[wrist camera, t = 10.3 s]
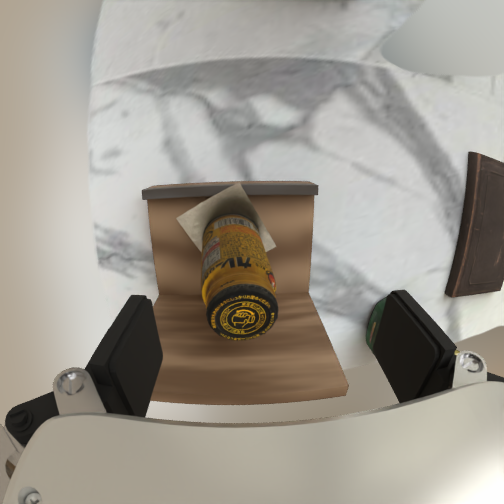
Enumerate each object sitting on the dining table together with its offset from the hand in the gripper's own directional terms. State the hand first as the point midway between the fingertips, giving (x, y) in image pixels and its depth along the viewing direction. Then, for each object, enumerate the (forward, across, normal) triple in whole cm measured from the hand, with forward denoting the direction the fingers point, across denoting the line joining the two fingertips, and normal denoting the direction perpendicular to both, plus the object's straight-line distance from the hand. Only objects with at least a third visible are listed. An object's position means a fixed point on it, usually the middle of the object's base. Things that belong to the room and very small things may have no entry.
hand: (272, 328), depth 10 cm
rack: (+23, +2, +4) cm, 23 cm away
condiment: (+20, +3, +2) cm, 20 cm away
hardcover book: (+24, -40, +2) cm, 46 cm away
